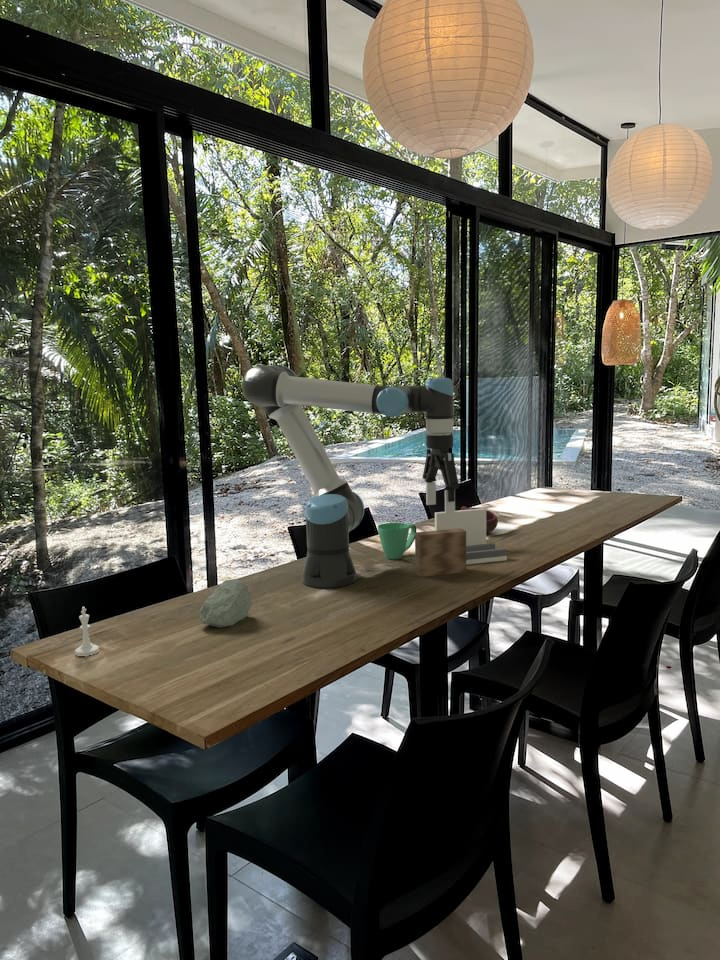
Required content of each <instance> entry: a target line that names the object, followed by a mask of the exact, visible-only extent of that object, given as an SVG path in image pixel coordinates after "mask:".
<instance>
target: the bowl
mask: <svg viewBox="0 0 720 960" xmlns="http://www.w3.org/2000/svg"><path fill="white" fill-rule="evenodd" d="M471 509H479V508H477V507H474V508H468V507H467V506H461V508H460V510H471ZM498 520H499V519H498V517H497V514H495V512H493V511H490V510H488V509H486V534H487V533H491V532H492V531H494V530H495V529H496V528H497V527H498V524H499V521H498Z"/></svg>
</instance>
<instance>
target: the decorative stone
mask: <svg viewBox="0 0 720 960" xmlns="http://www.w3.org/2000/svg"><path fill="white" fill-rule="evenodd" d="M252 604H253V602H252V599H251V592H250V591H249V588H248V585H247V584H245V582H242V581H241V580H239V579H237V578H232V579H225V580H224V581H222V582H221V584H220V585H219V586H218V587H216V588H215V590H214V591H213V593H212V594H211V595H209V596H208V598H207V599H206V600H205V602H204V603H203V605H202V606H201V608H200V609H199V612H198V614H199V620H200V622H201V623H202V624H204V625H209V626H210V627H214V628H218V629H219V628H222V629H223V628H226V627H232V626H234V625H235V624H236V623H238V622H241V621H243V620H244V619H245V618H247V617H248V615H249V611H250V609H251V607H252Z"/></svg>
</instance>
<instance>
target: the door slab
mask: <svg viewBox="0 0 720 960" xmlns="http://www.w3.org/2000/svg"><path fill="white" fill-rule="evenodd" d="M414 550H415V552H414V554H415V555H414V559H415V561H414V564H415V574H416V575H417V576H419V577H420V578H423V577H424V578H425V577H433V576H441V575H450V574H451V575H452V574H460V573H466V572H467V565H466V531H465V530H463V529H461V528H459V529H448V530H437V531H435V530H429V531H418V532H417V531H416V532H415V539H414Z"/></svg>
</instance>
